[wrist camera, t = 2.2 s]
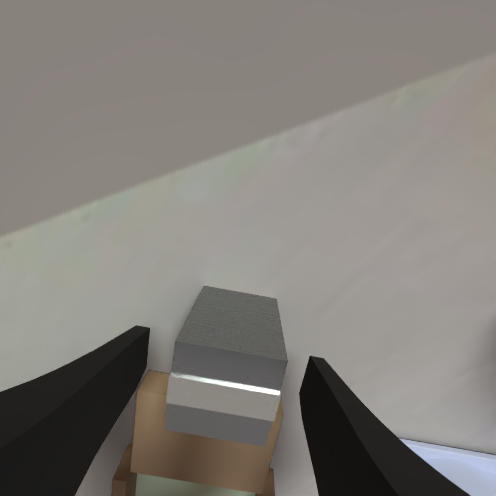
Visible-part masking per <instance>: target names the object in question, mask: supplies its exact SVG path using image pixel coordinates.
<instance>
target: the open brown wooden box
mask: <svg viewBox="0 0 496 496" xmlns="http://www.w3.org/2000/svg"><path fill="white" fill-rule="evenodd" d="M169 375H170V374H166V373H160V372H155V371H148V373H147V375H146V376H145V378H144V380H143V382H142V383H141V385H140V387H139V389H138V390H137V401H136V412H135V424H134V435H133V445H129V446H128V448H127V450H126V452H125V455H124V457H123V459H122V461H121V463H120V465H119V467H118V469H117V471H116V473H115V475H114V477H113V479H112V494H111V496H275V491H274V474H273V469H269V466H270V462H271V459H272V455H273V451H274V447H275V444H276V440H277V436H278V433H279V429H280V425H281V422H282V418H283V411H282V403H281V398H280V402H279V405H278V409H277V413H276V417H275V421H272V424H271V428H270V432H269V435H268V439H267V443H266V447H262V446H257V445H251V444H245V443H239V442H233V441H227V440H222V439H216V438H210V437H204V436H198V435H193V434H187V433H181V432H175V431H169V430H164V429H165V421H166V413H167V405H168V403H166V397H167V389H168V380H169Z"/></svg>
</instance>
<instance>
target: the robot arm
mask: <svg viewBox="0 0 496 496" xmlns="http://www.w3.org/2000/svg"><path fill="white" fill-rule="evenodd" d="M149 333H150V328H148V327H142V326H135V327H133V328H131V329H129V330H128V331H126V332H124V333H123V334H121V335H119V336H118V337H116V338H114V339H113V340H111V341H109V342H107V343H106V344H104V345H102V346H101V347H99V348H97V349H95V350H94V351H92V352H90V353H88V354H86V355H84V356H82V357H80V358H78V359H76V360H75V361H73V362H71V363H69V364H67V365H65V366H63V367H60V368H58V369H56V370H54V371H52V372H50V373H47V374H45V375H43V376H40V377H38V378H36V379H33V380H31V381H28V382H26V383H23V384H20V385H18V386H15V387H12V388H10V389H7V390H5V391H2V392H0V496H75V494H76V492H77V490H78V488H79V486H80V484H81V482H82V480H83V478H84V476H85V474H86V473H87V471H88V469H89V467H90V465H91V463H92V461H93V459H94V457H95V455H96V454H97V452H98V450H99V448H100V447H101V445H102V443H103V442H104V440H105V438H106V437H107V435H108V434H109V432H110V430H111V429H112V427H113V426H114V424H115V422H116V421H117V419H118V417H119V416H120V414H121V413H122V411H123V409H124V408H125V406H126V405H127V403H128V401H129V400H130V398H131V396H132V395H133V393H134V391H135V390H136V388H137V386H138V384H139V382H140V380H141V377H142V375H143V373H144V371H145V369H146V365H147V355H148V344H149ZM299 395H300V406H301V414H302V421H303V425H304V430H305V434H306V439H307V443H308V448H309V452H310V456H311V461H312V465H313V470H314V474H315V478H316V483H317V489H318V494H319V496H496V455H491V454H486V453H480V452H474V451H468V450H463V449H457V448H451V447H445V446H440V445H434V444H428V443H423V442H417V441H411V440H405V439H400V438H398V437H397V436H396V435H394V434H393V433H392V432H391V431H390V430H389V429H388V428H387V427H386V426H385V425H384V424H383V423H382V422H381V421H380V420H379V419H378V418H377V417H376V416H375V415H374V414H373V413H372V412H371V411H370V410H369V409H368V408H367V407H366V406H365V405H364V404H363V403H362V402H361V401H360V400H359V399H358V397H357V396H356V395H355V394H354V393H353V392H352V391H351V390H350V388H349V387H348V386H347V385H346V384H345V383H344V382H343V380H342V379H341V378H340V377H339V376H338V375H337V373H336V372H335V371H334V370H333V369H332V367H331V366H330V365H329V364H328V363H327V362H326V361H325V360H324V358H319V357H313V356H310V357H309V361H308V364H307V368H306V371H305V375H304V378H303V382H302V385H301V389H300V392H299Z"/></svg>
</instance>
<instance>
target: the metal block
mask: <svg viewBox="0 0 496 496" xmlns="http://www.w3.org/2000/svg"><path fill="white" fill-rule="evenodd" d="M287 362H288V359H287V354H286V348H285V343H284V337H283V332H282V326H281V321H280V315H279V310H278V304H277V299H275V298H270V297H264V296H259V295H253V294H248V293H242V292H237V291H231V290H225V289H220V288H214V287H209V286H204V287H203V288H202V290H201V292H200V294H199V296H198V298H197V300H196V302H195V304H194V306H193V308H192V310H191V312H190V314H189V316H188V318H187V320H186V322H185V323H184V325H183V327H182V329H181V331H180V333H179V335H178V337H177V339H176V341H175V349H174V357H173V365H172V371H171V373H170V375H169V380H168V389H167V397H166V403H168V405H167V413H166V421H165V429H164V430H169V431H175V432H181V433H187V434H193V435H198V436H204V437H210V438H216V439H222V440H227V441H233V442H239V443H245V444H251V445H257V446H262V447H266V443H267V439H268V435H269V432H270V428H271V424H272V421H275V417H276V413H277V409H278V405H279V402H280V398H281V391H280V389H281V385H282V381H283V377H284V374H285V370H286V366H287Z"/></svg>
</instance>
